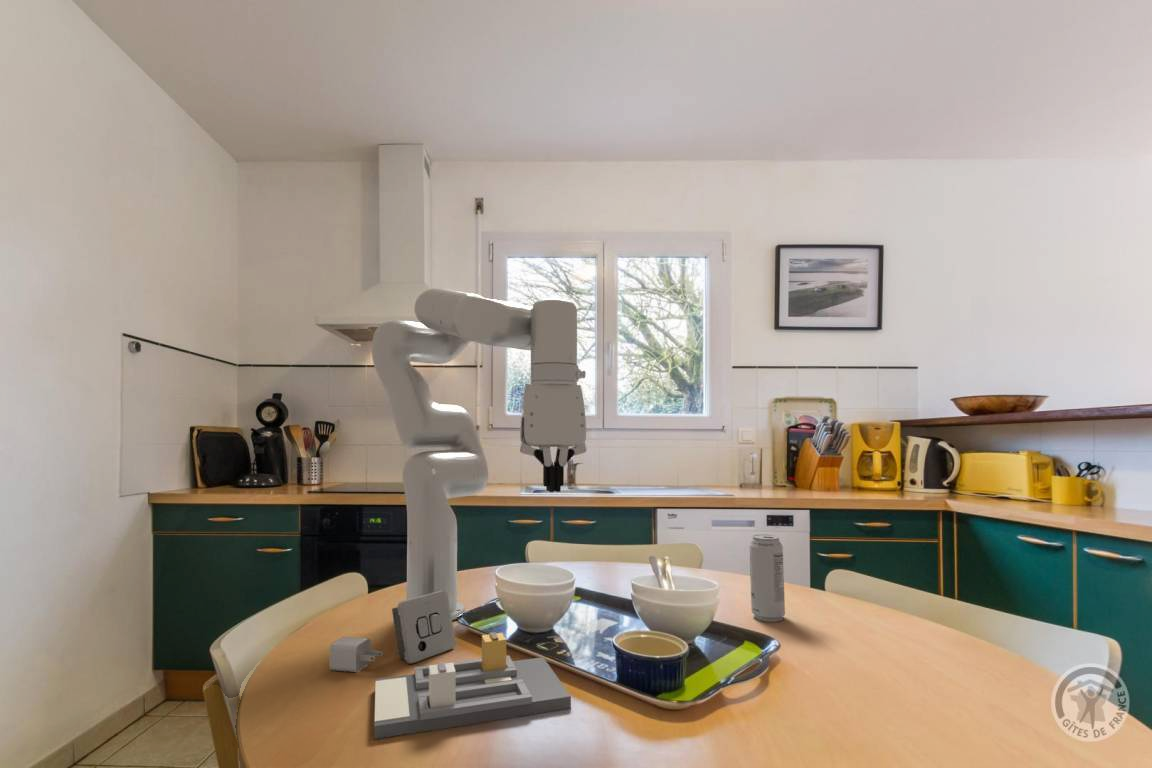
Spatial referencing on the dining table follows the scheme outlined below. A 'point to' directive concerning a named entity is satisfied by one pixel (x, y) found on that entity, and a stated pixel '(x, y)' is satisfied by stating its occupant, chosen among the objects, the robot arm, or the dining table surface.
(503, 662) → the yellow block with tab
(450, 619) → the electrical switch
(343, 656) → the usb wall charger
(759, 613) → the energy drink can
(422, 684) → the switch board
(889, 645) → the dining table surface
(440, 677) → the white tab
